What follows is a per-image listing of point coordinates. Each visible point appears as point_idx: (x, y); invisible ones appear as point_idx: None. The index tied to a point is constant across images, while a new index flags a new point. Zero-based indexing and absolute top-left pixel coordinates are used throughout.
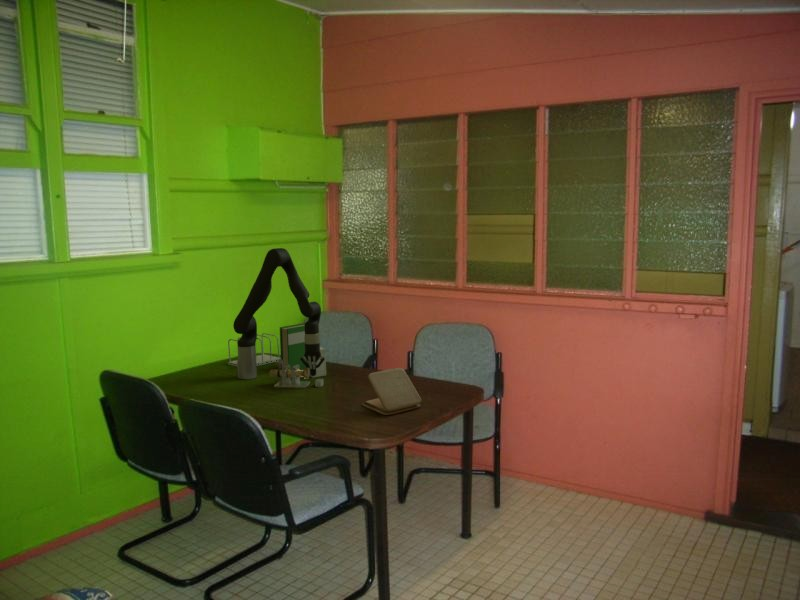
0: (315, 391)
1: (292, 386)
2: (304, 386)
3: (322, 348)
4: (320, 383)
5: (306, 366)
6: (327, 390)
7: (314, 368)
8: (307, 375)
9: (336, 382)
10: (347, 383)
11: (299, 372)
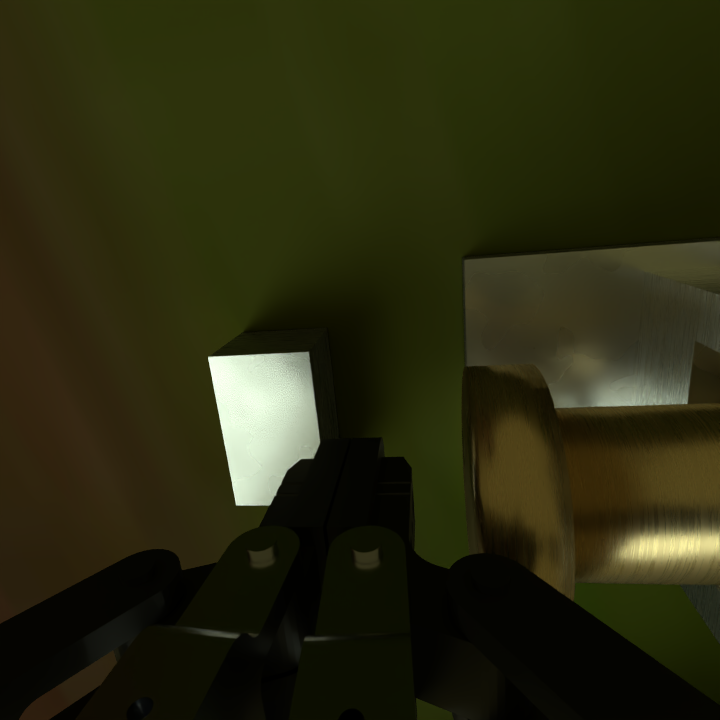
0: (226, 72)
1: (702, 241)
2: (478, 258)
3: None
4: (229, 346)
5: (524, 586)
6: (78, 169)
7: (258, 537)
8: (468, 433)
9: (145, 549)
10: (6, 519)
11: (696, 447)
